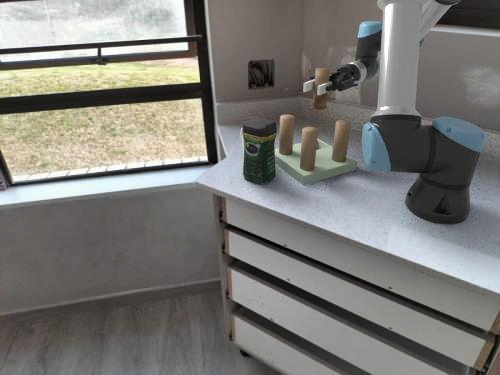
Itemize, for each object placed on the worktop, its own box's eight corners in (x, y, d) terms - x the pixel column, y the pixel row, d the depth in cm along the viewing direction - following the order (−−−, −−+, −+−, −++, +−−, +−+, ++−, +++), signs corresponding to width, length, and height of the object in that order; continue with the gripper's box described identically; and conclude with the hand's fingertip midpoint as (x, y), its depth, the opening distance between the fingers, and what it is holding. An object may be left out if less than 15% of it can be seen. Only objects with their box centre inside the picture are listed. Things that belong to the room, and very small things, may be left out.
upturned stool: (356, 169, 115) (363, 124, 107) (302, 185, 107) (306, 137, 99) (317, 146, 130) (321, 105, 122) (268, 158, 122) (269, 115, 114)
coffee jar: (279, 177, 111) (282, 118, 102) (264, 187, 106) (265, 126, 96) (254, 168, 116) (254, 111, 107) (238, 178, 111) (237, 119, 101)
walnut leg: (329, 108, 117) (333, 69, 110) (317, 110, 115) (321, 71, 109) (320, 104, 120) (324, 66, 114) (309, 106, 118) (312, 68, 112)
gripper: (372, 90, 122) (335, 107, 107) (327, 81, 132) (287, 95, 117) (376, 67, 118) (338, 81, 103) (329, 59, 128) (288, 71, 114)
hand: (311, 89), depth 110 cm, fingers closed on walnut leg, 4 cm apart
